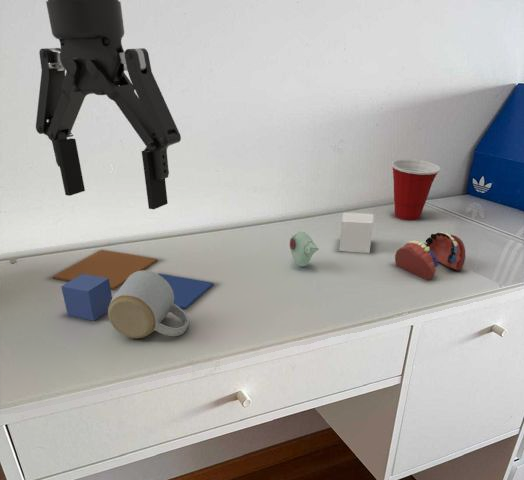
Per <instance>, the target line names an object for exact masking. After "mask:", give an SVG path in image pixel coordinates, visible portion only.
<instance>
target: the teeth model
mask: <svg viewBox="0 0 524 480" xmlns="http://www.w3.org/2000/svg"><path fill="white" fill-rule="evenodd" d="M465 260H466V247H465V244H464V241H463V240H462V239H461V238H460V237H458V236H457V235H454V234H451V233H446V232H444V231H441V232H439V231H438V232H436V233H431V234H430V236H429V237H427V238H426V239H425V242H422V241H419V240H414V239H413V240H409V241H408V242H407V243H405V244H404V245H403V246H402V247H400V248H399V249H397V250H396V252H395V255H394V263H395V266H396V267H399V268H401V269H403V270H405V271H407V272H409V273H411V274H413V275H415V276H417V277H419V278H422V279H424V280H426V281H430V280H431V279H432V278H434V277H435V274H436V270H437V269H436V268H437V267H438V265H439V263H440V264H442V265H445V266H446V267H448V268H450V269H453V270H455V271H459V272H461V271H462V270H463V267H464V264H465Z"/></svg>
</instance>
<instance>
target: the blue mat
mask: <svg viewBox="0 0 524 480" xmlns="http://www.w3.org/2000/svg"><path fill="white" fill-rule="evenodd" d="M157 274H158V275H160V276H162V277H163V278H164V279H165V280H166V281H167V282H168V283H169V285H170V286H171V288H172V290H173V293H174V304H175V305H177V306H178V307H180V308H181V309H182V310H186V309H188V308H189V307H190V306H191V305H192V304H193V303H194V302H196V301H197V300H198V299H199V298H200V297H202V296H203V294H205V293H206V292H207V291H208V290H209V289H211V288H212V287H213V286H214V285H215V284H214V283H215V282H211V281H206V280H200V279H194V278H193V279H192V278H189V277H181V276H176V275H170V274H164V273H157Z"/></svg>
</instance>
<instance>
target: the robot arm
mask: <svg viewBox="0 0 524 480" xmlns="http://www.w3.org/2000/svg"><path fill="white" fill-rule="evenodd" d="M45 4H46V9H47V14H48V19H49V24H50V29H51V34H52V36H53V37H54V38H55V39H56V40H59V44H60V47H50V48H48V47H47V48H40V49H39V53H38V54H39V60H40V69H41V73H40V83H39V92H38V94H39V95H38V101H37V111H36V112H37V113H36V119H35V130H36V132H37V133H38V134H40V135H43V134H44V135H45V136H47V138H48V139H49V140H50V141H51V144H52V148H53V153H54V157H55V163H56V164H57V166H58V168H59V170H60V175H61V179H62V180H61V181H62V185H63V190H64V194H65V196H69V197H70V196H74V195H76V194H80V193H83V192H86V188H85V183H84V178H83V172H82V167H81V162H80V157H79V151H78V145H77V141H76V138H73V136H74V134H73V133H72V130H73V127H74V125H75V123H76V121H77V117H78V115H79V112H80V110H81V108H82V107H83V103H84V101H85V98H86V97H87V96H88V95H92V94H94V95H97V96H107V98H108V99H110V100H111V101H113V102H114V103H115V104H116V105H117V107H118V109H119V111H121V113H122V114H123V116H124V117H125V118H126V120H127V122H128V123H129V124H130V126H131V127H132V128H133V130H134V131H135V132H136V134H137V135H138V137H139V138H140V139H141V141H142V142H143V144H144V145H145V148H144V149H143V150H141V156H142V166H143V173H144V182H145V190H146V197H147V206H148V210H156V209H159V208H161V207H163V206H166V205H167V204H168V202H169V201H168V193H167V185H166V183H167V182H166V179H167V178H169V176H170V171H169V160H168V148H169V147H170V146H172V145H174V144H178V143H180V142H181V139H182V136H181V133H180V132H179V129H178V127H177V124H176V122H175V120H174V118H173V116H172V113H171V111H170V109H169V107H168V105H167V101H166V100H165V97H164V96H163V93H162V91H161V89H160V87H159V85H158V83H157V80H156V78H155V76H154V74H153V71H152V66H151V61H150V56H149V55H150V54H149V52H148V50H147V49H146V48H143V47H142V48H140V47H139V48H127V49H126V50H124V47H123V45H122V44H123V43H122V38H124V36H125V26H124V19H123V10H122V2H121V0H120V1H119V0H46V1H45ZM125 71H126V72H127V73H128V76H127V74H126V73H125Z"/></svg>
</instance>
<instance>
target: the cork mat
mask: <svg viewBox="0 0 524 480" xmlns="http://www.w3.org/2000/svg"><path fill="white" fill-rule="evenodd" d="M156 262H158V258H154V257H149V256H142V255H136V254H129V253H123V252H118V251H117V252H116V251H110V250H105V249H100V250H99V251H97V252H94V253H93V254H91V255H88V256H87V257H85V258H83V259H82V260H80V261H78V262H76V263H75V264H73V265H70V266H69V267H67V268H65V269H63V270H62V271H60V272H58V273H56V274H54V275H53V276H52V278H53V279H55V280H61V281H65V282H69V281H71V280H73V279H74V278H76V277H78V276H80V275H81V274H87V275H92V276H98V277H104V278H109V283H110V288H111V290H115V289H117V288H119V287H121V286H122V285H123V284H124V282H125V281H126V280H127V278H128V277H129V276H130V275H131V274H133V273H134V272H137V271H142V270H146V269H147V268H149V267H151V265H153V264H155V263H156Z"/></svg>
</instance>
